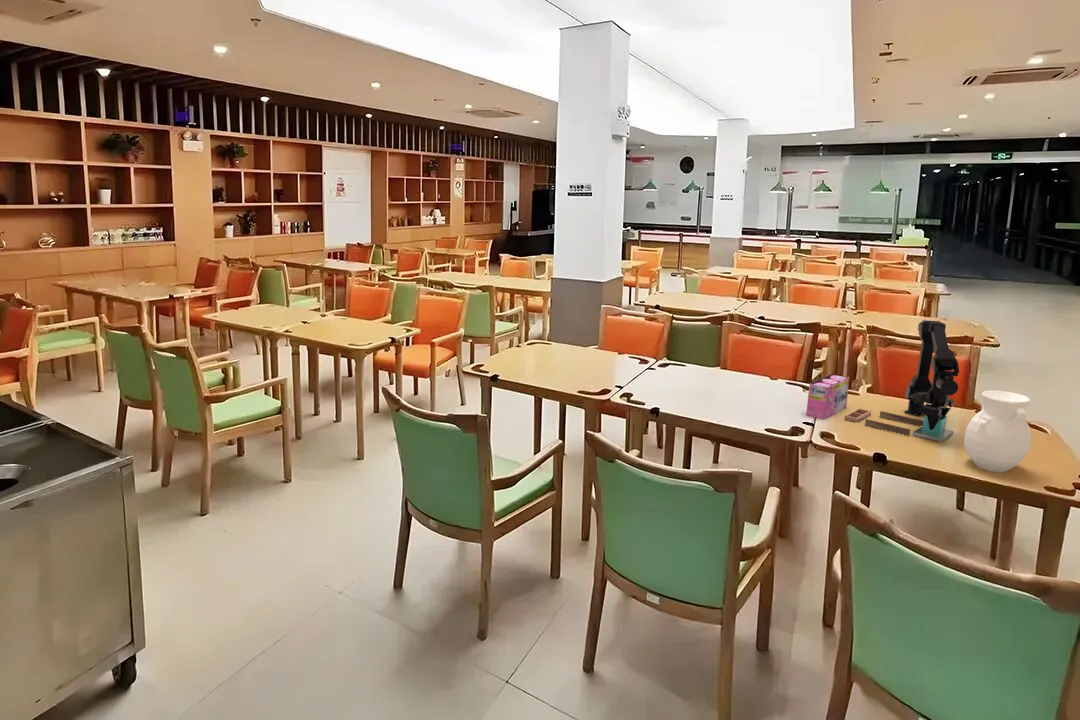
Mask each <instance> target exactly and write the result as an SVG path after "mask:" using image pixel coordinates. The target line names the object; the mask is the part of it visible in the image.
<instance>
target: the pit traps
mask: <svg viewBox="0 0 1080 720" xmlns="http://www.w3.org/2000/svg"><path fill="white" fill-rule="evenodd" d="M871 413H872V410H868V409H864V408H857V409H855V410H853V411H851V412H849V413H846V414H845V415H844V421H847V420H849V421H848V422H851V421H853V422H852V423H855V422H858V423H859V422H861V421H863V420H865V419H867V418H868V416H869V417H871V415H872V414H871ZM866 417H867V418H866ZM864 418H865V419H864ZM862 419H863V420H862ZM860 420H861V421H860Z"/></svg>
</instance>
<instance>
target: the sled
mask: <svg viewBox="0 0 1080 720" xmlns="http://www.w3.org/2000/svg"><path fill="white" fill-rule="evenodd" d="M947 419H948V416H947V415H946V416H941V417H940V419H939V421H938V422H937V424H936V426H935V427H934V429H933V430H930V429H929V423H928V418H927V416H926V415H925V414H924V417H923V420H924V422H923V426H922V427H918V428H917V429H916V430H914V431H913V432H912V436H915V437H918V438H924V439H928V440H932V441H936V442H941V443H943V442H944V441H945V440H946V439H948V438H949V437H950V436H952V435H953V434H954V430H951V429H946V426H947Z"/></svg>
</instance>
